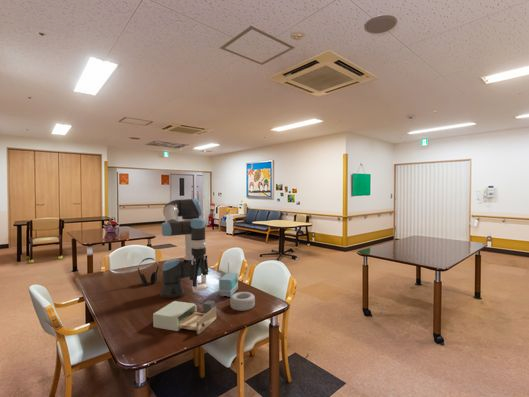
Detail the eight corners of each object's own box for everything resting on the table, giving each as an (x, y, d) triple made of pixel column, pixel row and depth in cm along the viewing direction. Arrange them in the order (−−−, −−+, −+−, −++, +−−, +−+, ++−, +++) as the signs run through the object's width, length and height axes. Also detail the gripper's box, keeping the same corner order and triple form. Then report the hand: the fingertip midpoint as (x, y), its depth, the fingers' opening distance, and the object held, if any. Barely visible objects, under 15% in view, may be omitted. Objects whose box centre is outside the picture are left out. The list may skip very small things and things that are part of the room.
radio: (232, 298, 189) (231, 268, 188) (219, 297, 191) (218, 267, 190) (239, 289, 204) (239, 261, 204) (227, 288, 206) (226, 261, 206)
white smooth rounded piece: (189, 289, 153) (189, 286, 153) (197, 285, 160) (197, 282, 160) (202, 291, 150) (202, 288, 150) (210, 286, 158) (210, 283, 158)
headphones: (137, 284, 220) (136, 258, 219) (157, 280, 228) (156, 255, 227) (139, 287, 212) (138, 260, 212) (160, 283, 221) (159, 257, 220)
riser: (203, 313, 166) (202, 303, 166) (207, 310, 171) (207, 300, 171) (210, 314, 165) (210, 304, 164) (215, 311, 169) (214, 301, 169)
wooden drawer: (173, 329, 148) (172, 317, 147) (192, 314, 164) (192, 303, 164) (200, 334, 142) (200, 321, 142) (218, 318, 159) (217, 307, 159)
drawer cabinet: (153, 326, 152) (153, 313, 151) (174, 312, 168) (174, 300, 168) (177, 331, 147) (177, 317, 146) (196, 316, 164) (196, 303, 163)
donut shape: (234, 313, 166) (234, 302, 166) (227, 304, 180) (227, 293, 180) (258, 308, 172) (258, 297, 172) (249, 299, 186) (249, 289, 186)
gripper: (194, 251, 144) (195, 297, 144) (214, 244, 163) (215, 283, 164) (181, 251, 146) (182, 295, 147) (202, 243, 166) (203, 282, 166)
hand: (199, 289), depth 155 cm, fingers closed on white smooth rounded piece, 8 cm apart
